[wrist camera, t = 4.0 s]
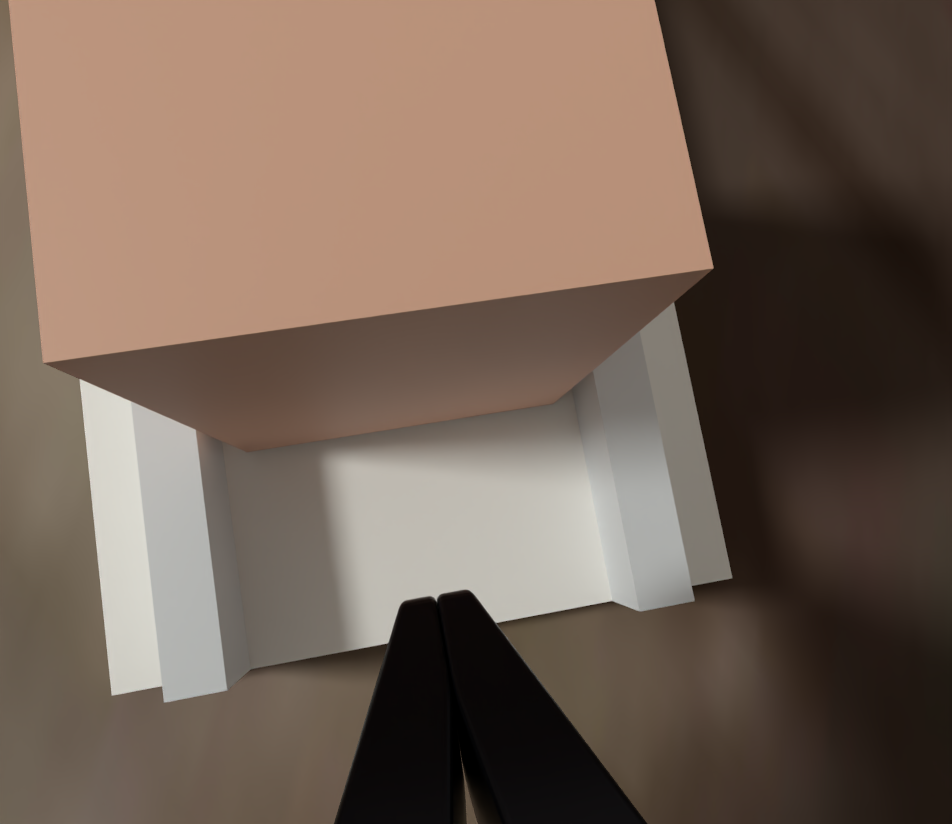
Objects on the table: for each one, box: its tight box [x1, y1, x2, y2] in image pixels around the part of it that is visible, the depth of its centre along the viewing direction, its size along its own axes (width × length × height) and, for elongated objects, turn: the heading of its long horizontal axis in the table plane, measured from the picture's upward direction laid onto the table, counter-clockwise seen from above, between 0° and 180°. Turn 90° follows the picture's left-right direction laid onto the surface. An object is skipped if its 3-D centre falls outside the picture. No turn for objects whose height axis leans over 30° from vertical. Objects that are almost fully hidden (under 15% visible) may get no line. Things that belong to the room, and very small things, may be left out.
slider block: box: [9, 0, 714, 452], centre depth 11 cm, size 5×6×8 cm
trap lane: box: [80, 302, 732, 702], centre depth 13 cm, size 21×12×7 cm, turn 10°
